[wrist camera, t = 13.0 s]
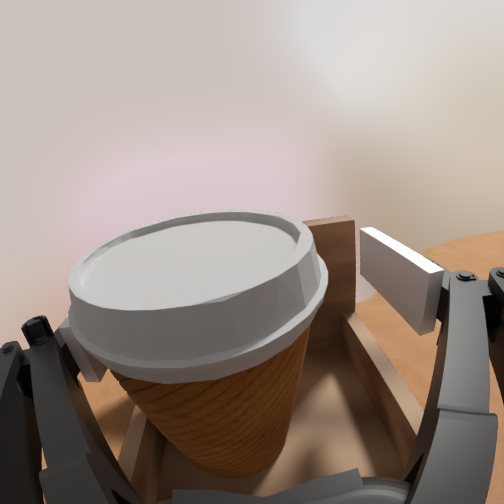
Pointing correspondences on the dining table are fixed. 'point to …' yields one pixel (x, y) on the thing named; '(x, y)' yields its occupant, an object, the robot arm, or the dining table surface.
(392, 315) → the dining table surface
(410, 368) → the dining table surface
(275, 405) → the disposable coffee cup
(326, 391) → the cradle
